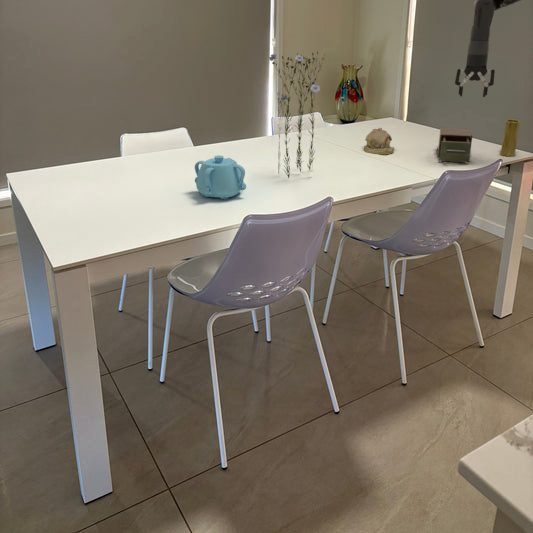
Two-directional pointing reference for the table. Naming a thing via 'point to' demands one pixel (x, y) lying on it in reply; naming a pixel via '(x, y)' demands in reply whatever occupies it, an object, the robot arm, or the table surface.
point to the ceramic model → (378, 142)
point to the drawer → (455, 149)
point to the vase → (510, 138)
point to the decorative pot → (219, 177)
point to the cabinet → (453, 134)
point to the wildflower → (315, 89)
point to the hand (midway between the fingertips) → (472, 96)
